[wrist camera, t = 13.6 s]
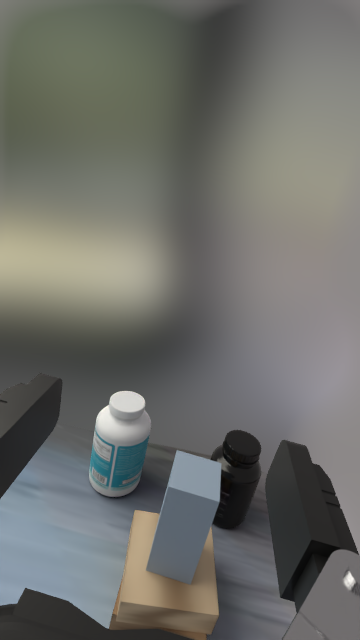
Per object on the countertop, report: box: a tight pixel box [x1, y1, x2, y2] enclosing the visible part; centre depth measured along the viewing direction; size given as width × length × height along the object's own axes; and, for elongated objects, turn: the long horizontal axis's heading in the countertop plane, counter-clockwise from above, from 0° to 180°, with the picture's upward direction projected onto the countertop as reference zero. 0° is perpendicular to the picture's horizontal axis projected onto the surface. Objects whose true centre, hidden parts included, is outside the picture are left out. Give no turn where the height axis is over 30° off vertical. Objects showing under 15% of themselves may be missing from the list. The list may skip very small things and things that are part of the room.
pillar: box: [146, 450, 221, 585], centre depth 32 cm, size 4×4×11 cm
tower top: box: [116, 510, 219, 634], centre depth 34 cm, size 9×9×3 cm
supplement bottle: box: [211, 430, 261, 528], centre depth 44 cm, size 7×7×12 cm
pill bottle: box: [89, 391, 151, 497], centre depth 45 cm, size 8×7×14 cm
